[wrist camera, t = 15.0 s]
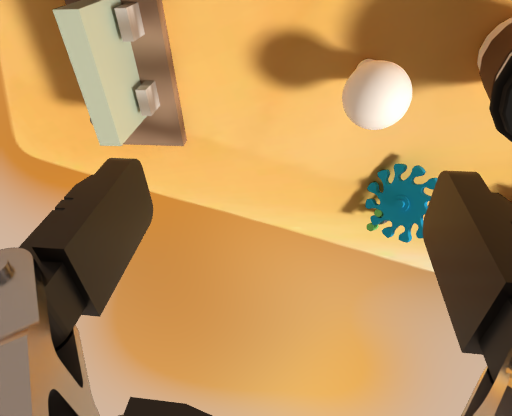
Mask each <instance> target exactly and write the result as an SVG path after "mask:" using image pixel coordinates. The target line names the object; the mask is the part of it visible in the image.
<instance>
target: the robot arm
mask: <svg viewBox="0 0 512 416" xmlns="http://www.w3.org/2000/svg"><path fill="white" fill-rule="evenodd" d="M152 216H153V204H152V200H151V196H150V193H149V189H148V185H147V182H146V178H145V175H144V171H143V168H142V165H141V163H140V161H139V160H137V159H123V158H109V159H108V160H107V161H106V162H105V163H104V164H103V165H102V166H101V167H100V169H99V170H98V171H97V172H96V173H95V174H94V175H91V176H89V177H87V178H86V179H84V180H83V181H81V182H80V183H78V184H76V185H75V186H74V187H73V188H72V190H70V192H69V193H68V194H67V195H66V196H65V197H64V200H61V201H60V203H59V204H58V205H57V206H56V207H55V210H52V211H51V212H50V214H49V215H48V216H47V217H46V218H45V219H44V220H43V221H42V223H40V225H39V226H38V227H37V228H36V229H35V230H34V231H33V232H32V233H31V234H30V236H29V237H28V238H27V239H26V240H25V241H24V242H23V243H22V244H21V246H20V247H19V248H6V249H1V250H0V416H100V415H99V412H98V410H97V408H96V406H95V404H94V401H93V398H92V394H91V390H90V385H89V380H88V375H87V370H86V365H85V360H84V355H83V350H82V345H81V340H80V335H79V330H78V328H77V326H76V325H75V324H76V322H77V321H78V319H79V317H80V316H81V315H90V316H100V315H101V313H102V312H103V310H104V308H105V306H106V304H107V302H108V301H109V298H110V297H111V295H112V293H113V291H114V290H115V288H116V286H117V284H118V282H119V280H120V279H121V277H122V275H123V273H124V271H125V269H126V267H127V265H128V264H129V262H130V260H131V258H132V256H133V255H134V253H135V251H136V249H137V247H138V245H139V244H140V242H141V240H142V238H143V236H144V234H145V233H146V230H147V229H148V227H149V225H150V223H151V220H152ZM423 239H424V242H425V245H426V248H427V251H428V254H429V257H430V260H431V263H432V266H433V269H434V272H435V275H436V277H437V281H438V284H439V286H440V289H441V292H442V295H443V298H444V301H445V304H446V307H447V310H448V313H449V316H450V318H451V322H452V324H453V328H454V330H455V333H456V336H457V339H458V342H459V345H460V348H461V351H462V352H463V353H472V354H482V355H484V358H485V361H486V363H487V367H486V369H485V370H484V371H483V373H482V375H481V377H480V379H479V381H478V383H477V385H476V387H475V389H474V391H473V393H472V395H471V397H470V399H469V401H468V403H467V405H466V407H465V409H464V411H463V413H462V415H461V416H512V203H511V202H510V201H509V200H507V199H506V198H505V197H503V196H502V195H500V194H499V193H491V191H490V190H489V188H488V187H487V185H486V184H485V182H484V181H483V179H482V178H481V176H480V175H479V174H478V173H477V172H462V171H443V172H441V173H440V175H439V177H438V179H437V182H436V185H435V188H434V191H433V194H432V197H431V199H430V202H429V205H428V208H427V211H426V214H425V217H424V221H423ZM119 416H212V415H209V414H207V413H205V412H203V411H201V410H198V409H196V408H194V407H192V406H189V405H187V404H183V403H174V402H166V401H158V400H150V399H142V398H133V397H130V399H129V402H128V405H127V407H126V410H125V412H124V415H119Z"/></svg>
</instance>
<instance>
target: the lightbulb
mask: <svg viewBox="0 0 512 416" xmlns="http://www.w3.org/2000/svg"><path fill="white" fill-rule="evenodd" d="M411 99H412V84H411V81H410V78H409V76H408V74H407V73H406V72H405V70H404V69H403V68H401V67H400V66H399V65H397V64H395V63H393V62H389V61H385V60H376V61H375V60H373V59H365V60H363V61H361V62H360V63H359V64H358V66H357V68H356V70H355V71H354V72H353V73H352V74H351V75H350V77H349V78H348V80H347V82H346V84H345V86H344V89H343V94H342V102H343V107H344V111H345V113H346V114H347V116H348V117H349V118H350V120H351V121H352V122H353V123H355V124H356V125H358V126H360V127H362V128H365V129H369V130H378V129H383V128H386V127H389V126H391V125H393V124H394V123H396V122H397V121H399V120H400V119H401V118H402V117H403V115H404V114H405V113H406V111H407V109H408V107H409V105H410V102H411Z"/></svg>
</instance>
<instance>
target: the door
mask: <svg viewBox="0 0 512 416" xmlns="http://www.w3.org/2000/svg"><path fill="white" fill-rule="evenodd" d="M121 5H122V4H121V0H80V1H77V2H74V3H71V4H68V5H65V6H62V7H59V8H56V9H53V13H54V16H55V19H56V21H57V24H58V27H59V30H60V33H61V36H62V38H63V41H64V44H65V47H66V50H67V53H68V55H69V58H70V61H71V64H72V67H73V70H74V72H75V75H76V78H77V81H78V84H79V87H80V89H81V92H82V95H83V98H84V101H85V104H86V106H87V109H88V112H89V115H90V122H91V123H92V125H93V126H94V129H95V132H96V135H97V138H98V140H99V143H100V145H103V146H122V145H123V143H124V142H125V141H126V140H127V139H128V138H129V136H130V135H131V134H132V133H133V132H134V131H135V129H136V128H137V127H138V126H139V125H140V124H141V122H142V121H143V120H144V119H145V118H146V117H147V116H142V115H141V111H140V107H139V103H138V99H137V96H136V92H135V90H136V89H137V88H138V87H139V86H140V85H141V83H140V79H139V74H138V70H137V66H136V62H135V58H134V54H133V50H132V46H131V42H123V41H122V37H121V33H120V29H119V25H118V21H117V17H116V13H115V9H114V8H116V7H118V6H121Z"/></svg>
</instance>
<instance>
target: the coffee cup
mask: <svg viewBox="0 0 512 416" xmlns="http://www.w3.org/2000/svg"><path fill="white" fill-rule="evenodd" d="M477 65H478V68H479V71H480V76H481V79H482V82H483V85H484V88H485V90H486V92H487V95H488V97H489V99H490V101H491V102H490V108H489V109H490V112H491V115H492V118H493V121H494V124H495V127H496V129H497V130H498V131H499V132H500V133H501V134H503V135H504V136H505V137H506V138H508V139H509V140H510V141H511V142H512V17H511V18H510V19H508V20H506V21H504V22H502V23H500V24H499V25H498V26H497V27H496V28H495V29H494V30H493V31H492V32H491V33H490V34H489V35H488V36H487V37H486V39H485V41H484V42H483V44H482V46H481V48H480V50H479V55H478V61H477Z"/></svg>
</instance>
